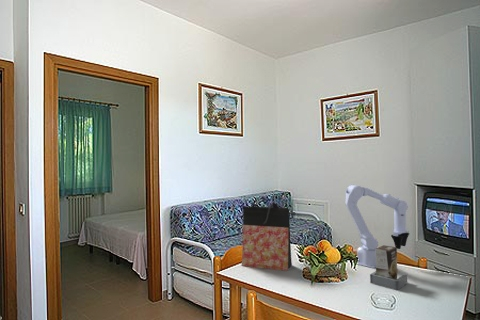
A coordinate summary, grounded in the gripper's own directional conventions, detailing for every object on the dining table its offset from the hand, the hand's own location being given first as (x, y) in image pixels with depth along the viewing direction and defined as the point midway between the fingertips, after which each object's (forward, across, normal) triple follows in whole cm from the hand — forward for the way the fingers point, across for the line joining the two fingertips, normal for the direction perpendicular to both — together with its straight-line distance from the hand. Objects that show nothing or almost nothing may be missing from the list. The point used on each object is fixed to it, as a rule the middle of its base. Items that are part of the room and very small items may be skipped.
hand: (400, 247), depth 167 cm
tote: (+9, -30, -5) cm, 32 cm away
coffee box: (+10, -31, -4) cm, 32 cm away
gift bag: (+10, -50, +50) cm, 72 cm away
